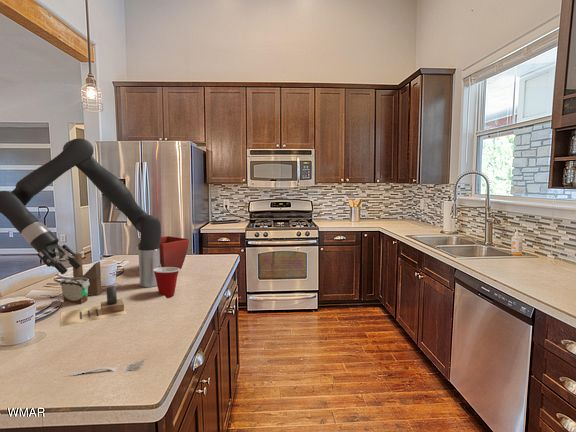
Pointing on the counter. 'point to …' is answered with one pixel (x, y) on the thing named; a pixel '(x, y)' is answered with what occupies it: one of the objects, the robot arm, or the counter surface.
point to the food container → (75, 290)
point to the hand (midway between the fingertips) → (72, 270)
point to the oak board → (85, 315)
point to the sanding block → (112, 302)
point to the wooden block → (89, 275)
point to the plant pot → (173, 251)
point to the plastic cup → (166, 280)
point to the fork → (113, 368)
